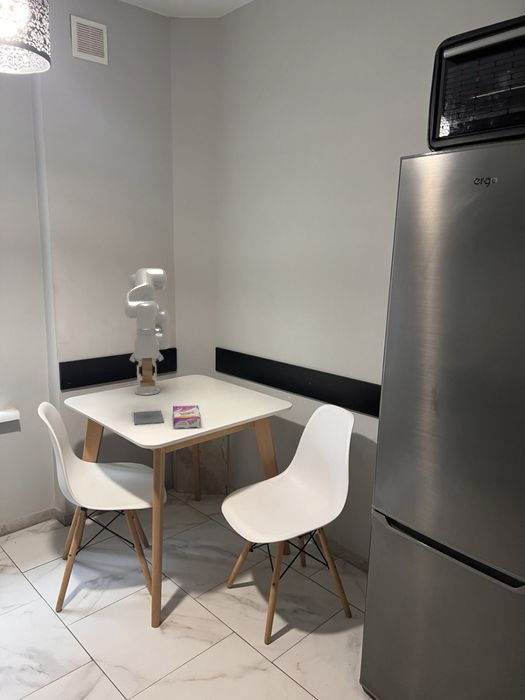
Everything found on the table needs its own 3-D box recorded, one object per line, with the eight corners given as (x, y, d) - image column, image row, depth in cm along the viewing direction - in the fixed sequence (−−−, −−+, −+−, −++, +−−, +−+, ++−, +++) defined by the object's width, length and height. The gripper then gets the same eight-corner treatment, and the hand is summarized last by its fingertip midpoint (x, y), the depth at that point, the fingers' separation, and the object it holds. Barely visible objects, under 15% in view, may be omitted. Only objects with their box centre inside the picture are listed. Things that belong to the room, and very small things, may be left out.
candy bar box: (198, 404, 223) (201, 416, 207) (198, 415, 224) (201, 428, 208) (172, 405, 221) (173, 417, 205) (172, 416, 222) (173, 429, 206)
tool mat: (133, 413, 225) (133, 412, 225) (160, 411, 228) (160, 410, 228) (134, 425, 210) (134, 423, 210) (164, 423, 213) (164, 421, 213)
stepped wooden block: (139, 383, 218) (139, 356, 216) (154, 382, 220) (153, 355, 217) (140, 387, 212) (139, 359, 210) (155, 386, 214) (154, 358, 212)
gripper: (165, 330, 218) (166, 372, 221) (125, 331, 213) (126, 374, 217) (167, 333, 211) (168, 376, 214) (125, 334, 206) (126, 378, 210)
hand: (147, 374), depth 215 cm, fingers closed on stepped wooden block, 4 cm apart
